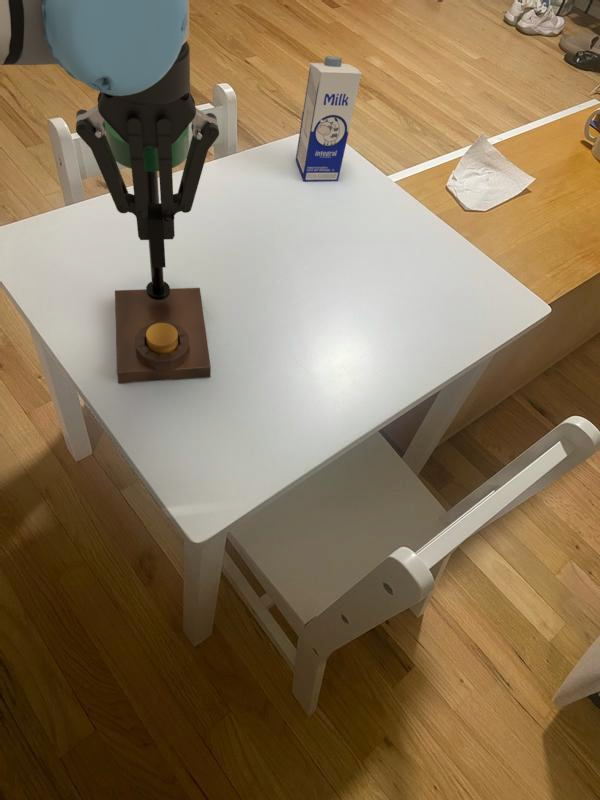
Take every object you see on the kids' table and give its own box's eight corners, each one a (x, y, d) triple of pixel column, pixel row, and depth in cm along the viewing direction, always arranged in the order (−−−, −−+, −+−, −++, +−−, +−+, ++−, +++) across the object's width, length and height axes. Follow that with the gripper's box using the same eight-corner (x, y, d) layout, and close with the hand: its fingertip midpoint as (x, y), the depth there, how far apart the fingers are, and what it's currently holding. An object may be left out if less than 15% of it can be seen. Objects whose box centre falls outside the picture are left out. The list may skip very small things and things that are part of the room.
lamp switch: (147, 355, 78) (146, 346, 76) (146, 332, 80) (145, 323, 78) (179, 353, 79) (178, 344, 77) (176, 330, 81) (176, 321, 79)
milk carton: (302, 181, 111) (320, 70, 95) (294, 159, 114) (310, 50, 98) (338, 181, 112) (363, 72, 96) (330, 159, 116) (351, 51, 100)
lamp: (125, 308, 81) (100, 117, 60) (123, 263, 86) (100, 72, 65) (192, 306, 83) (192, 120, 62) (187, 262, 88) (184, 76, 67)
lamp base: (118, 383, 79) (115, 364, 76) (116, 301, 87) (113, 280, 84) (210, 377, 82) (211, 358, 78) (199, 298, 90) (199, 278, 87)
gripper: (217, 20, 52) (212, 236, 71) (59, 10, 50) (97, 238, 68) (228, 64, 48) (219, 280, 67) (56, 55, 45) (97, 284, 64)
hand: (158, 259), depth 68 cm, fingers closed
